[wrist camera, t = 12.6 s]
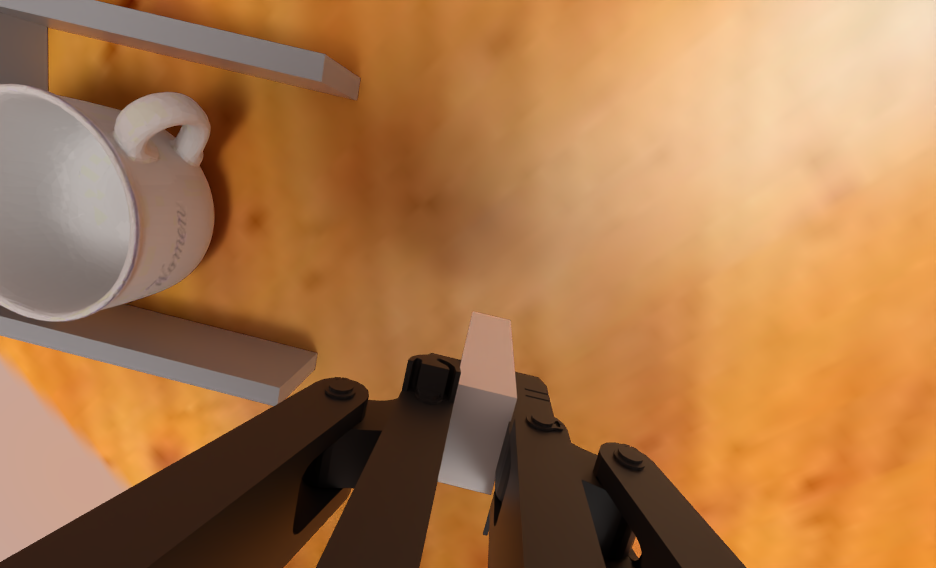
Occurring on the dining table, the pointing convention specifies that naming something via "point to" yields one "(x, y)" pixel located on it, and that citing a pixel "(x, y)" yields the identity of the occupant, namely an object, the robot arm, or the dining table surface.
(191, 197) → the teacup
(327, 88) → the box
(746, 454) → the dining table surface
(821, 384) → the dining table surface
